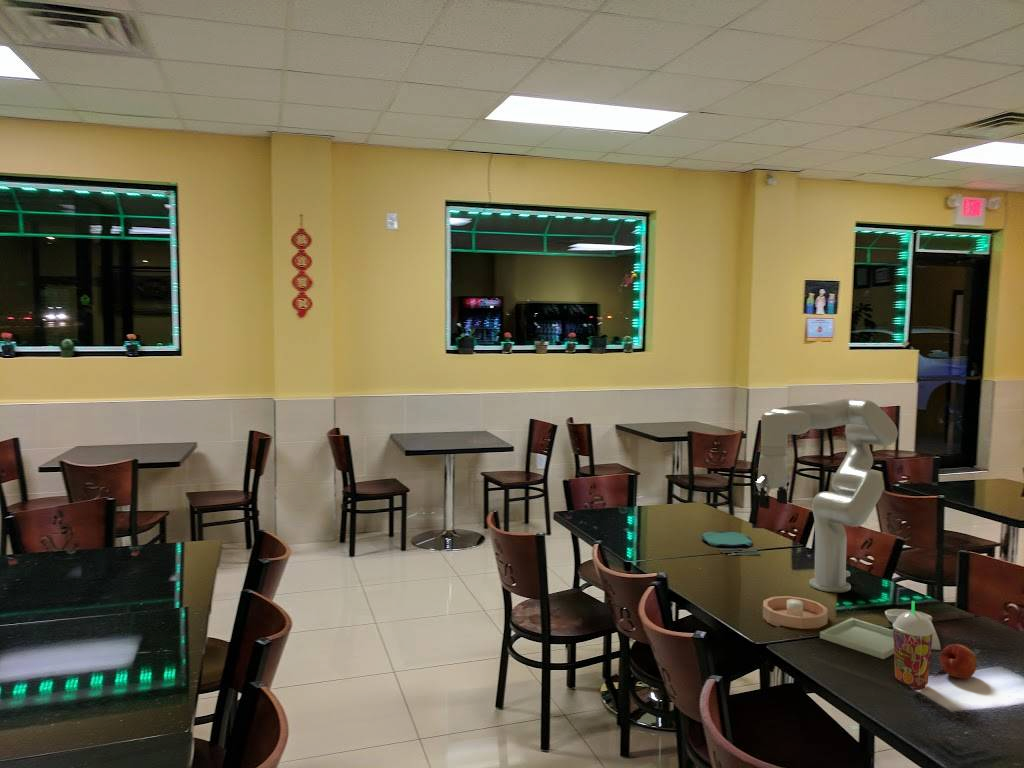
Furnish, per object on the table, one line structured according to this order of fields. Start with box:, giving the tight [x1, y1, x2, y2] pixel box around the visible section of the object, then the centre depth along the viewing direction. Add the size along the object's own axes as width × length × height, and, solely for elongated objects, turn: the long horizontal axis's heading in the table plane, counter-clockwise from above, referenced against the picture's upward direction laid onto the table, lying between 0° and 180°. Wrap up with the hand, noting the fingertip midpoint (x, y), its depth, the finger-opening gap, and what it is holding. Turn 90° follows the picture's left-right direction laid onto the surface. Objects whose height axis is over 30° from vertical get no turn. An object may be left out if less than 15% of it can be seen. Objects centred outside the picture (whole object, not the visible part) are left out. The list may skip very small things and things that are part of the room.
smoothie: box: [892, 600, 933, 691], centre depth 168 cm, size 8×8×20 cm
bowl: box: [762, 595, 829, 630], centre depth 208 cm, size 17×17×4 cm
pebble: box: [787, 599, 803, 617], centre depth 208 cm, size 4×4×4 cm
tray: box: [819, 617, 894, 660], centre depth 192 cm, size 17×17×2 cm
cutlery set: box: [701, 531, 761, 556], centre depth 288 cm, size 20×30×2 cm, turn 177°
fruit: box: [939, 643, 978, 680], centre depth 172 cm, size 8×8×8 cm
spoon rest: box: [884, 608, 942, 651], centre depth 197 cm, size 24×12×7 cm, turn 169°
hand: (773, 505), depth 224 cm, fingers open, 9 cm apart
